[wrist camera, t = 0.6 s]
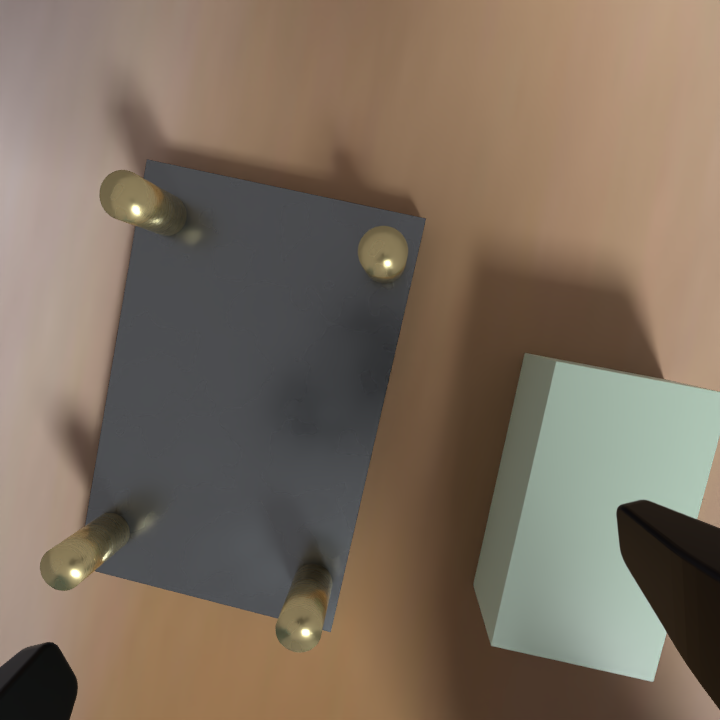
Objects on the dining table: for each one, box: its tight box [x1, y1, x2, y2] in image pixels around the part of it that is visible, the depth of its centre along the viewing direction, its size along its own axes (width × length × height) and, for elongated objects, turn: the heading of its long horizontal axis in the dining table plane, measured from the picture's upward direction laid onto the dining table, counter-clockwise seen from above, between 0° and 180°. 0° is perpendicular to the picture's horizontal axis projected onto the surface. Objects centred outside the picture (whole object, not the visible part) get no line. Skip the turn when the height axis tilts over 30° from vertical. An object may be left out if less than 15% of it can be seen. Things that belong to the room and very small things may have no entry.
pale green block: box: [473, 353, 720, 682], centre depth 18 cm, size 6×10×4 cm, turn 170°
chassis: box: [40, 160, 426, 652], centre depth 18 cm, size 11×17×4 cm, turn 168°
